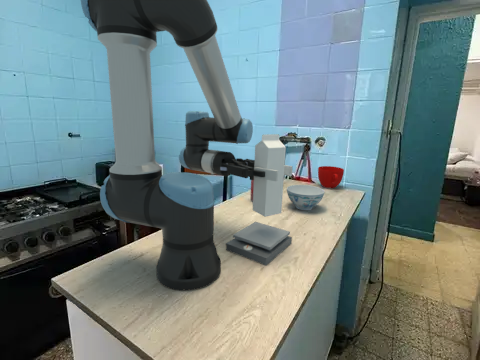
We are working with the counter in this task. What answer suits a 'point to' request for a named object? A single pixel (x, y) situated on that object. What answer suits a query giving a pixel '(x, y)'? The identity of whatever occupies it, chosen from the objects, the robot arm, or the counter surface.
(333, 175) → the ceramic cup
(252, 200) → the soda can
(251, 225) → the kitchen scale
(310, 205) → the chinaware
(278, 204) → the milk
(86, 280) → the counter surface
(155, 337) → the counter surface
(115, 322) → the counter surface
